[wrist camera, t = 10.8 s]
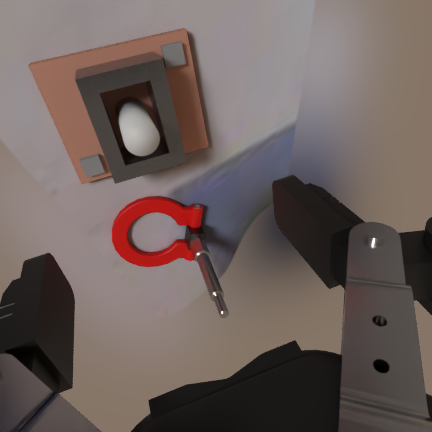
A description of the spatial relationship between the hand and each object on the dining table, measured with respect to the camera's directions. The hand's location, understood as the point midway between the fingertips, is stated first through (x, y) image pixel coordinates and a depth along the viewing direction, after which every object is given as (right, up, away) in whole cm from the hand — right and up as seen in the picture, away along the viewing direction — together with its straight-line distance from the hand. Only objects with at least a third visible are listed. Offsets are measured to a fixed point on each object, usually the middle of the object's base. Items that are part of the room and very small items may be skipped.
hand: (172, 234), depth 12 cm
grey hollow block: (-6, +9, +16) cm, 20 cm away
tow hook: (-5, -1, +25) cm, 25 cm away
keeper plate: (-6, +10, +17) cm, 21 cm away
